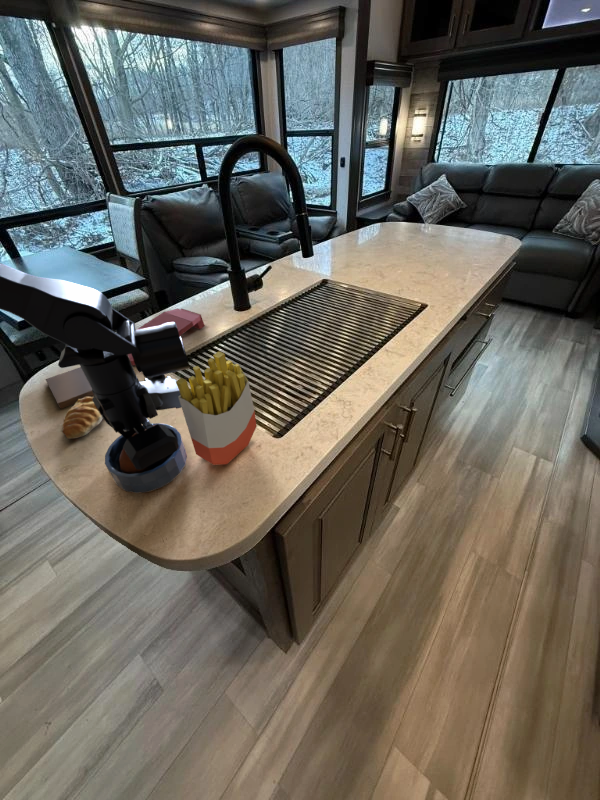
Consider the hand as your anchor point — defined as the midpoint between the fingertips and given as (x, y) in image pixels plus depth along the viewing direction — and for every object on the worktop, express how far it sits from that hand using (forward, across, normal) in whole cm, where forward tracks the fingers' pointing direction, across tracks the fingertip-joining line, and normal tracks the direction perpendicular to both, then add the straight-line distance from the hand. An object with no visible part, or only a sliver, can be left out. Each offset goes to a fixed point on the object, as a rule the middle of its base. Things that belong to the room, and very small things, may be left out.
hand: (149, 457), depth 56 cm
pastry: (+2, +20, +5) cm, 21 cm away
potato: (+2, 0, 0) cm, 2 cm away
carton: (+2, +42, -20) cm, 47 cm away
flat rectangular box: (+2, +34, +2) cm, 34 cm away
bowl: (+2, 0, 0) cm, 2 cm away
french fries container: (+2, -6, -12) cm, 13 cm away
